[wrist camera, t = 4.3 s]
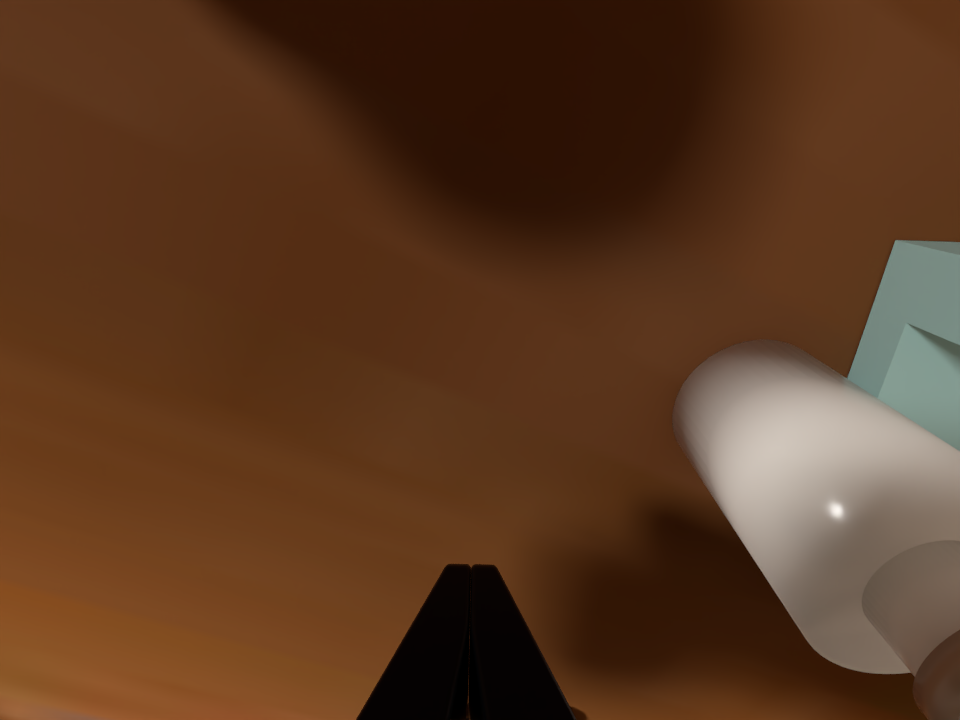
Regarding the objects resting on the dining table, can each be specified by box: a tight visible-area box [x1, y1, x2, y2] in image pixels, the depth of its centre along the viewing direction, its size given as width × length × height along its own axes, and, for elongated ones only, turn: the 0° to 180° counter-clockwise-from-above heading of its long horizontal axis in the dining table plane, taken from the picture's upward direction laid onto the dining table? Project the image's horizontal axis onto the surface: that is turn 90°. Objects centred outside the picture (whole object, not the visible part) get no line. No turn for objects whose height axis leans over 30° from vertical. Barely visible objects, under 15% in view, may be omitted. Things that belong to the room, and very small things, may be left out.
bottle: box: [672, 340, 960, 720], centre depth 11 cm, size 4×4×8 cm
